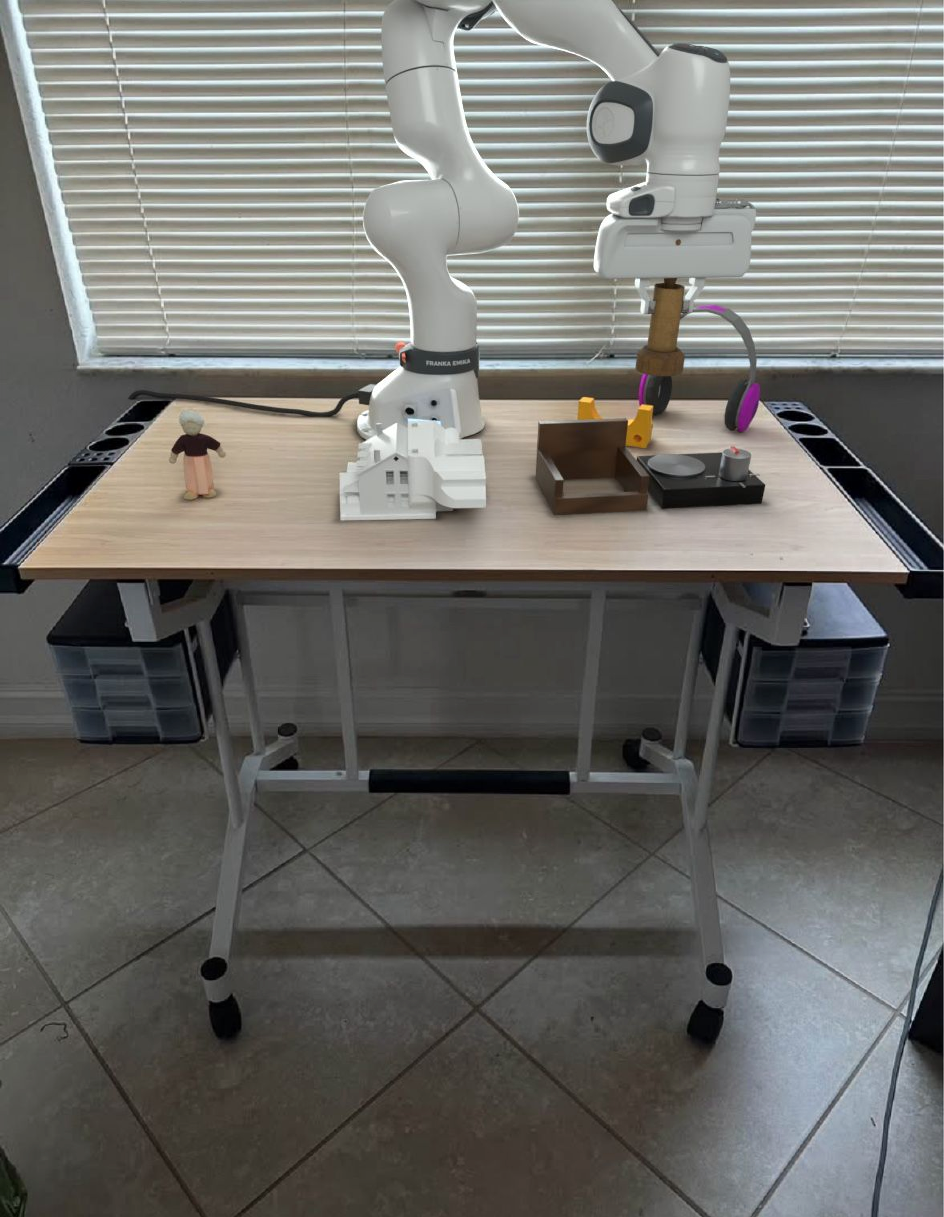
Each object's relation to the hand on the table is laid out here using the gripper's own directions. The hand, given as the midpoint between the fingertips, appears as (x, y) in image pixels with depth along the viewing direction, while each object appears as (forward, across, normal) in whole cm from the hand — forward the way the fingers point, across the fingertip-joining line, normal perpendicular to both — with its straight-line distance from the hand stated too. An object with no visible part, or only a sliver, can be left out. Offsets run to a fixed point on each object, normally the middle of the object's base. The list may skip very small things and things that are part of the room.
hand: (665, 313), depth 113 cm
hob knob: (+22, -12, +4) cm, 26 cm away
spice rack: (+25, +9, +1) cm, 27 cm away
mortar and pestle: (+8, 0, 0) cm, 8 cm away
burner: (+22, -5, -1) cm, 23 cm away
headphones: (+26, -18, -28) cm, 42 cm away
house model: (+26, +35, +3) cm, 43 cm away
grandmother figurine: (+26, +65, -5) cm, 70 cm away
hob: (+25, -8, +1) cm, 27 cm away
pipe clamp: (+26, -1, -21) cm, 33 cm away
